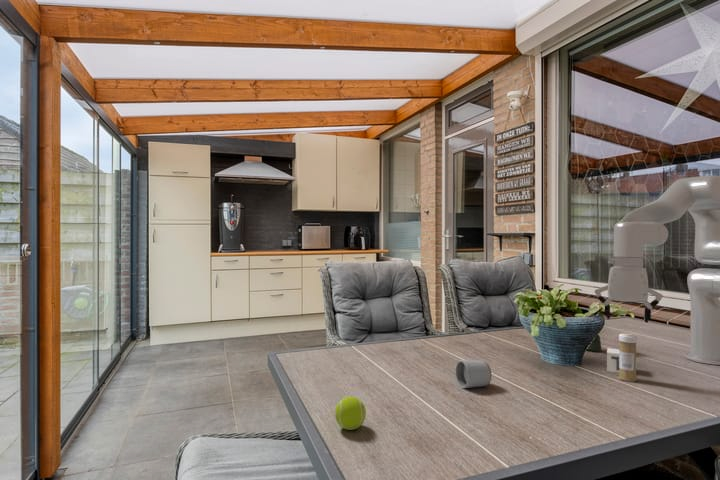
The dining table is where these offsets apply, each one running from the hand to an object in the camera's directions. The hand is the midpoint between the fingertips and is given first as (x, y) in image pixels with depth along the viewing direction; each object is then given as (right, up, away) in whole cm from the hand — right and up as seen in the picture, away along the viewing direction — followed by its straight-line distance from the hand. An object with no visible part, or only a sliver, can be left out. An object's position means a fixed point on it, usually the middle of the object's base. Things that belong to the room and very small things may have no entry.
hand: (626, 320), depth 128 cm
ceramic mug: (-48, -19, -3) cm, 51 cm away
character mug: (+7, -18, +32) cm, 38 cm away
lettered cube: (+3, -18, +9) cm, 20 cm away
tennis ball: (-82, -19, -31) cm, 90 cm away
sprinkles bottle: (+1, -18, 0) cm, 18 cm away
